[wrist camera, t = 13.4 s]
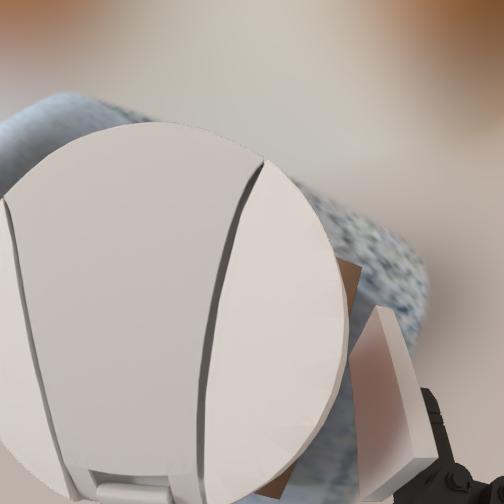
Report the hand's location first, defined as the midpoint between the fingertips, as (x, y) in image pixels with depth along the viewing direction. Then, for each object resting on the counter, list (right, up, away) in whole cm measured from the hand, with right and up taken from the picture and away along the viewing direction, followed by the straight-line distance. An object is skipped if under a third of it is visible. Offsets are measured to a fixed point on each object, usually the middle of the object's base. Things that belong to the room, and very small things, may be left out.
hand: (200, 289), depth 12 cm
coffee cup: (-1, -4, +7) cm, 8 cm away
